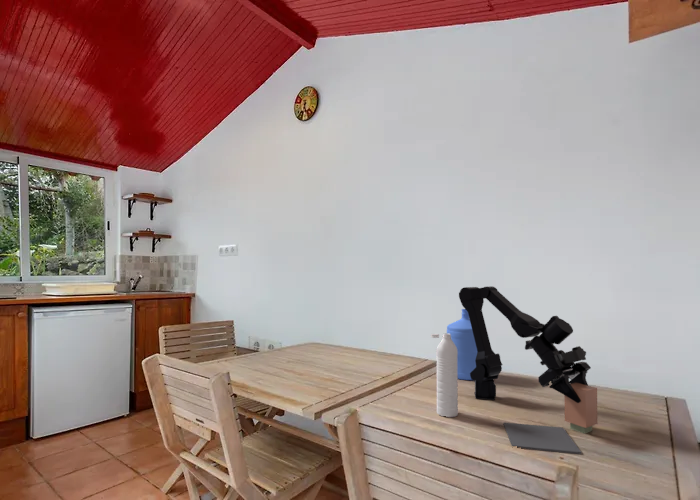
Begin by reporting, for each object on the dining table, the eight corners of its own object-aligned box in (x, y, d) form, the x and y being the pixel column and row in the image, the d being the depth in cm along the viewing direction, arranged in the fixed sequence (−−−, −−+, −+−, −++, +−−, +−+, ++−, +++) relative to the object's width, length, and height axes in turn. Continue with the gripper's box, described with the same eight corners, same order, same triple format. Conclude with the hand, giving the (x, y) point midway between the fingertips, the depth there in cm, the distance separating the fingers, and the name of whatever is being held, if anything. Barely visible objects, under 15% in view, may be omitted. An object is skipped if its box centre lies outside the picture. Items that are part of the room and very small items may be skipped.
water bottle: (450, 409, 132) (450, 331, 133) (462, 416, 126) (461, 334, 127) (426, 412, 129) (426, 332, 130) (437, 419, 123) (437, 336, 124)
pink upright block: (564, 420, 117) (564, 385, 117) (576, 416, 120) (575, 382, 121) (586, 428, 112) (585, 391, 112) (597, 423, 115) (597, 387, 115)
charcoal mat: (512, 447, 104) (512, 445, 104) (503, 424, 120) (503, 422, 120) (581, 454, 100) (581, 452, 101) (562, 429, 116) (562, 427, 116)
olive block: (570, 429, 117) (570, 414, 117) (577, 426, 119) (577, 412, 119) (584, 434, 113) (584, 419, 113) (592, 430, 115) (591, 416, 115)
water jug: (479, 382, 162) (479, 312, 163) (441, 377, 171) (441, 309, 172) (489, 374, 176) (488, 309, 177) (453, 369, 184) (453, 306, 185)
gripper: (547, 340, 115) (588, 390, 106) (583, 334, 125) (623, 380, 115) (523, 362, 122) (559, 411, 112) (559, 355, 132) (595, 400, 122)
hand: (585, 400), depth 115 cm, fingers closed on pink upright block, 6 cm apart
